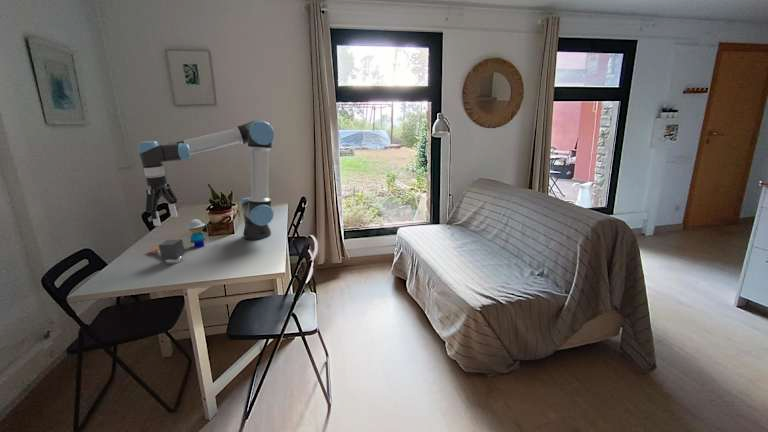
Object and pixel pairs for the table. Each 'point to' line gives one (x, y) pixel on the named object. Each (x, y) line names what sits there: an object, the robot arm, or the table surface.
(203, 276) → the table surface
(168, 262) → the ratchet
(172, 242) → the dark charcoal cube
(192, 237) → the toy
